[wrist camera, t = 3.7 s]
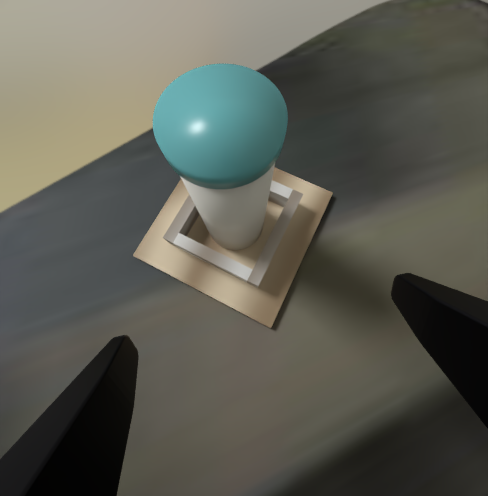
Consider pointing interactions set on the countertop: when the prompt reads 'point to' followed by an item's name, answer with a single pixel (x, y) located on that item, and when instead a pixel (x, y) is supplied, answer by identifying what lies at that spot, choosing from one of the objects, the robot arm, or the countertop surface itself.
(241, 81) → the white tall cylindrical piece
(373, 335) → the countertop surface
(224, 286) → the housing
